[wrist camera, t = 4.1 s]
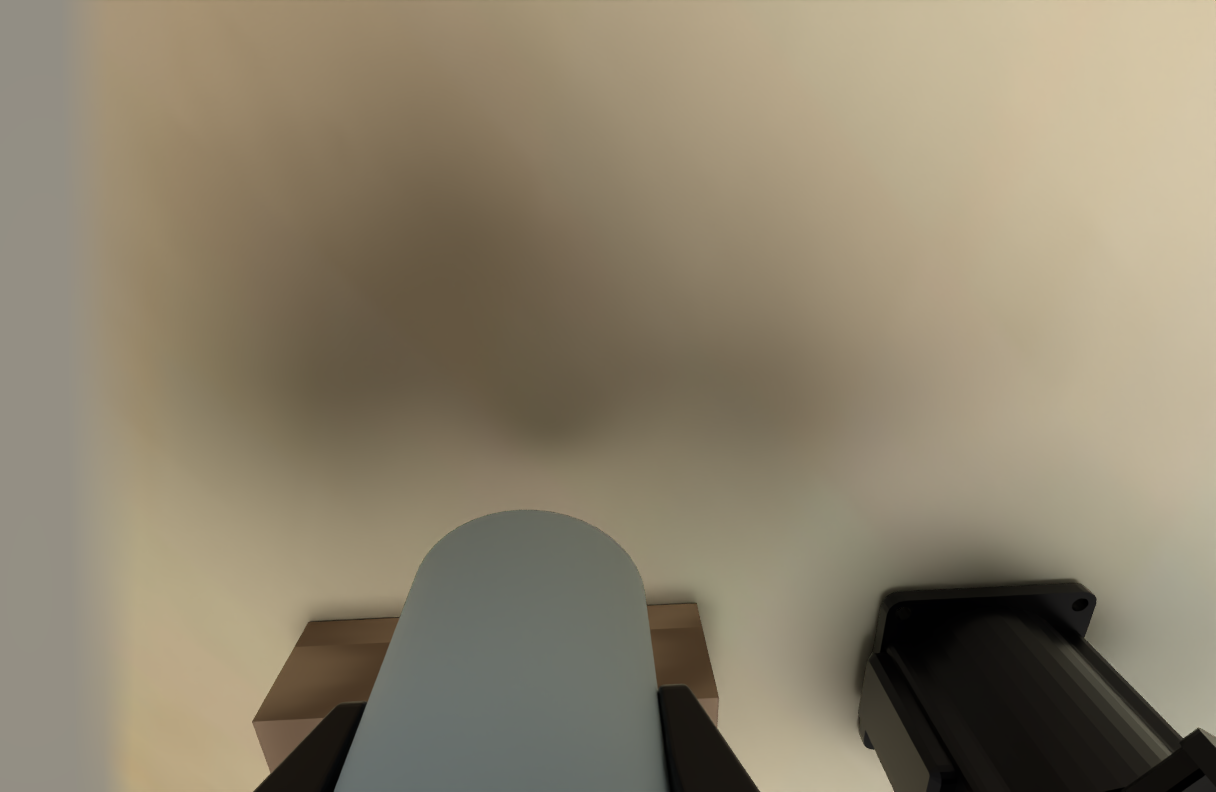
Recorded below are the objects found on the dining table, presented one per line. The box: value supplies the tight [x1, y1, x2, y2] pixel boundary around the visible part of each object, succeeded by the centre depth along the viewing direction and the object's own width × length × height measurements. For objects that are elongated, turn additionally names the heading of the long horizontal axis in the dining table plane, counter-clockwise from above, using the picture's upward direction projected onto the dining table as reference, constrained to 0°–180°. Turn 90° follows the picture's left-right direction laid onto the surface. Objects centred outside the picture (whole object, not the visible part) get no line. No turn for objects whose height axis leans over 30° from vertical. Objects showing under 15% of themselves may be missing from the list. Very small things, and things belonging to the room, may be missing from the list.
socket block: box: [252, 603, 719, 773], centre depth 19 cm, size 12×10×4 cm
